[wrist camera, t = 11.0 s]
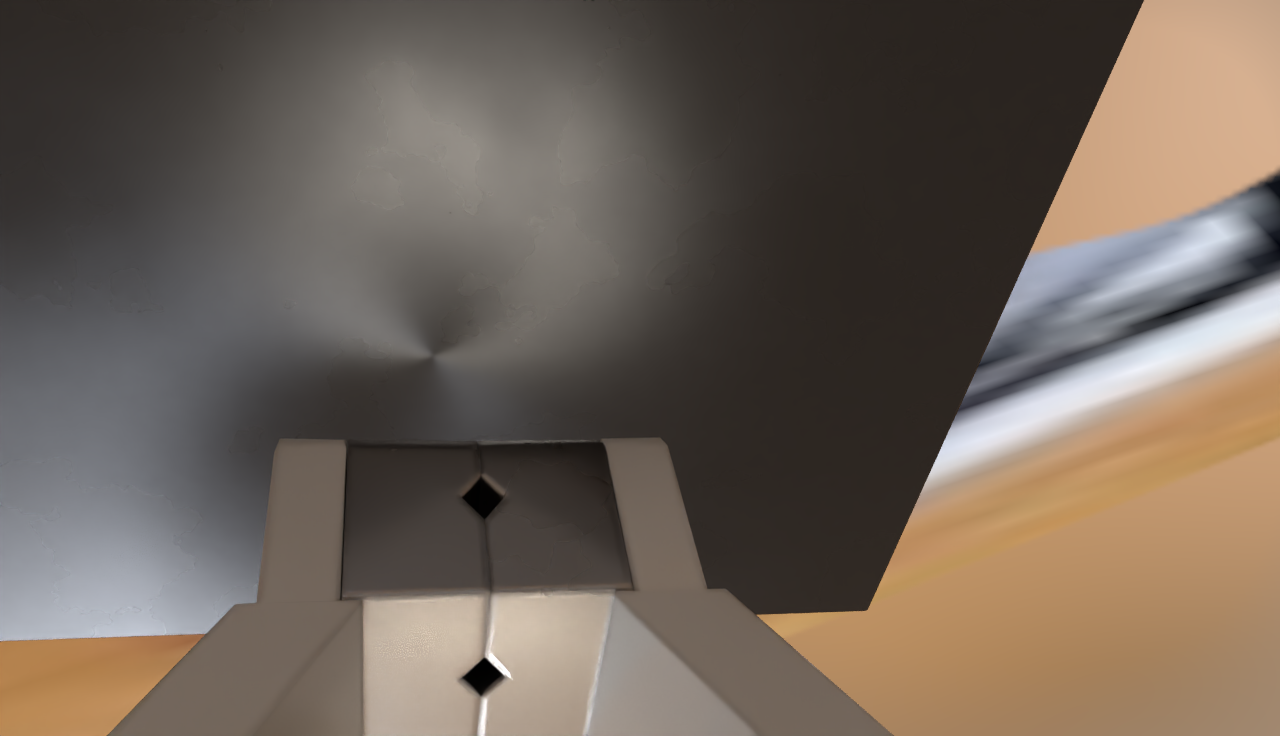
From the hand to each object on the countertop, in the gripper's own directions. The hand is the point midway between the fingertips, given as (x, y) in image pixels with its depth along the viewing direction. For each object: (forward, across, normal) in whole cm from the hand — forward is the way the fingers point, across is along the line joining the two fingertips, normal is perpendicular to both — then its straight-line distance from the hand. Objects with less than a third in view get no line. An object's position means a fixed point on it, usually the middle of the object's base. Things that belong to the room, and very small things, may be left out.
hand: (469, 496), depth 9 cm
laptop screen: (+10, 0, +5) cm, 11 cm away
